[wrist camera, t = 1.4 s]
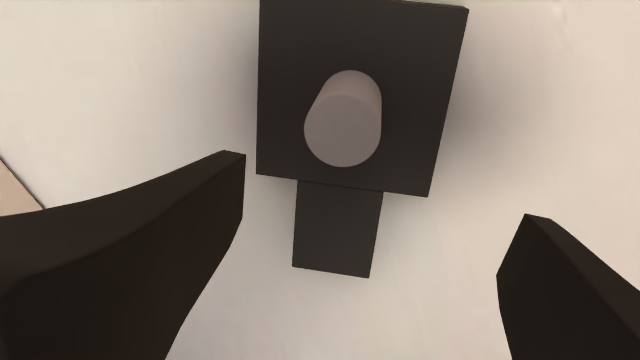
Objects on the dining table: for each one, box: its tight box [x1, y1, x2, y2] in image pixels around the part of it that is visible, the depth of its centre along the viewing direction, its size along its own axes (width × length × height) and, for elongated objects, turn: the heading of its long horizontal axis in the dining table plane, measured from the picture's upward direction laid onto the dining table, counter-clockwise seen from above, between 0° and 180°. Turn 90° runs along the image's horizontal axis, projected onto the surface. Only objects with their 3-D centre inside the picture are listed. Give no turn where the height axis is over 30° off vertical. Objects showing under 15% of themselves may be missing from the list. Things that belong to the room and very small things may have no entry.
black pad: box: [256, 0, 469, 278], centre depth 18 cm, size 8×13×6 cm, turn 175°
